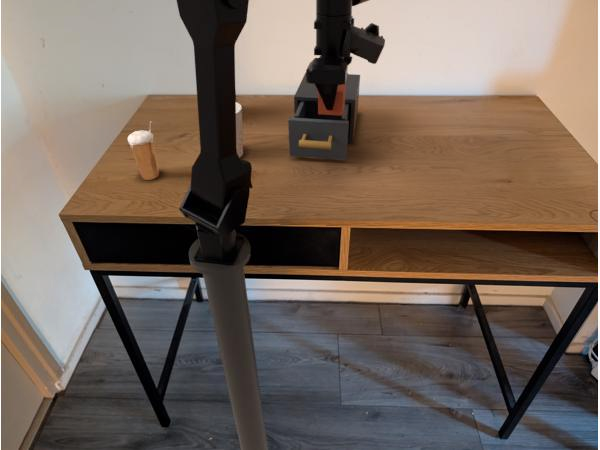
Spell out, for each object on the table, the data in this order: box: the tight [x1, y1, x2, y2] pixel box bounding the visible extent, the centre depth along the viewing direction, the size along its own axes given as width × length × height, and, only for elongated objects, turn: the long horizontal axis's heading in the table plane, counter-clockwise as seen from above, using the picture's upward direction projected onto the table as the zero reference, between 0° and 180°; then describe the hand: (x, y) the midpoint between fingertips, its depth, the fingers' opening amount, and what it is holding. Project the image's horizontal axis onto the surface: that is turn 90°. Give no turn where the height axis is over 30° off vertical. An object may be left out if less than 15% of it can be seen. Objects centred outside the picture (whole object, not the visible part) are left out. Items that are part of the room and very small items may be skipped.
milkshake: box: [127, 121, 160, 181], centre depth 81 cm, size 5×5×10 cm
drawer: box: [287, 101, 350, 161], centre depth 87 cm, size 18×11×8 cm, turn 170°
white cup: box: [236, 102, 244, 158], centre depth 87 cm, size 8×8×10 cm
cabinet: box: [293, 72, 361, 144], centre depth 96 cm, size 15×13×10 cm
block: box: [318, 83, 346, 116], centre depth 78 cm, size 4×4×4 cm
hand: (331, 104), depth 79 cm, fingers closed on block, 4 cm apart
